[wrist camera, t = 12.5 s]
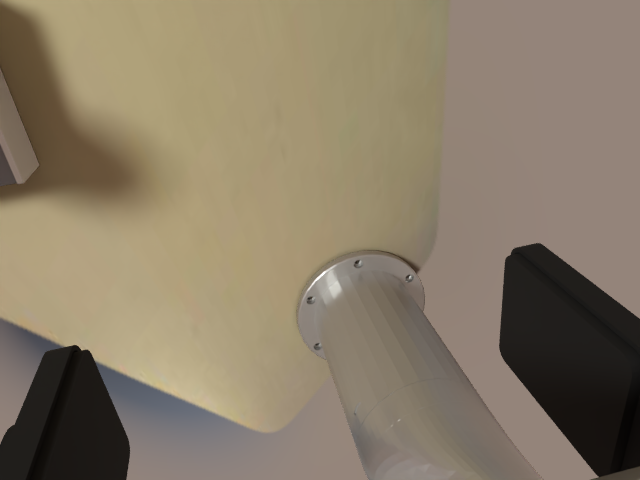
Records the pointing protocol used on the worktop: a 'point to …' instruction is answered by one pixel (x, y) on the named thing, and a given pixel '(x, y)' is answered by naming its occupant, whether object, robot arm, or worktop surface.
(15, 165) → the frame
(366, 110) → the worktop surface
